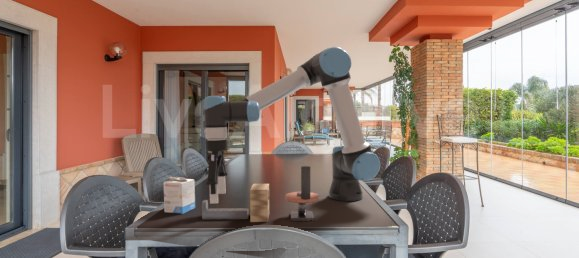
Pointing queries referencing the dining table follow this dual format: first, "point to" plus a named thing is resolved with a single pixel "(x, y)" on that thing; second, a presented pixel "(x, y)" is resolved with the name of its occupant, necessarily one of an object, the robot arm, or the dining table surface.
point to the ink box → (179, 195)
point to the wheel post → (302, 213)
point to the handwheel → (303, 189)
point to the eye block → (259, 203)
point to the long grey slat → (223, 212)
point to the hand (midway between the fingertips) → (218, 198)
